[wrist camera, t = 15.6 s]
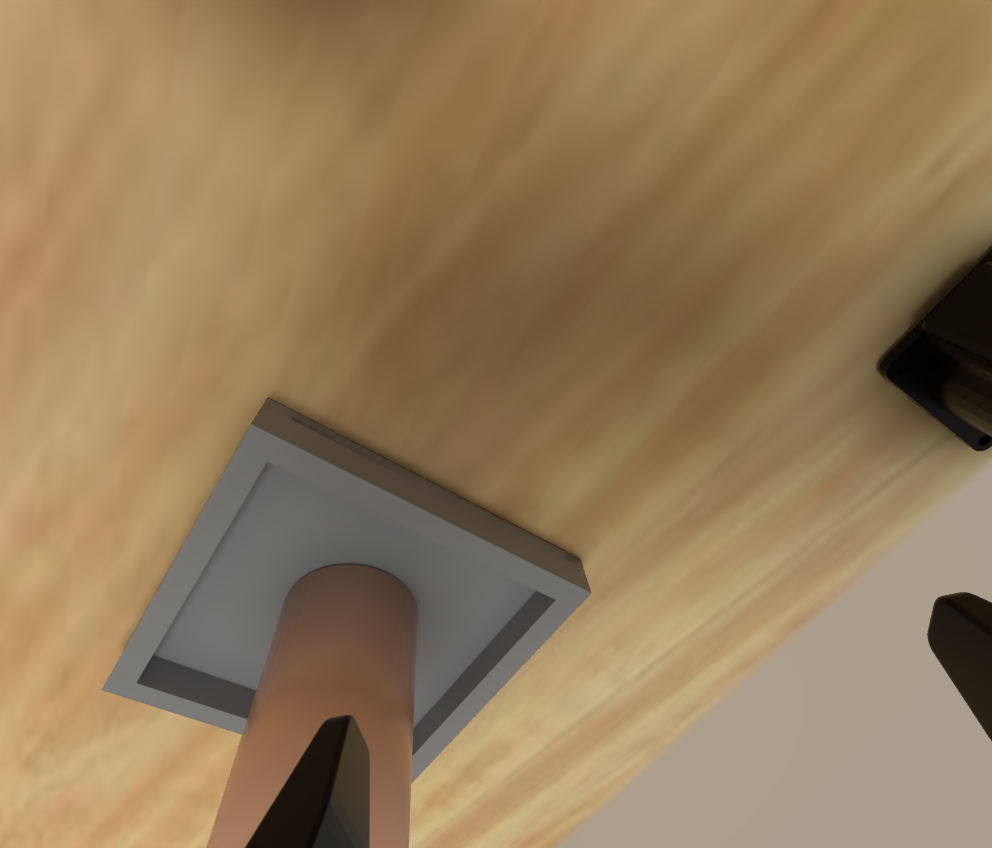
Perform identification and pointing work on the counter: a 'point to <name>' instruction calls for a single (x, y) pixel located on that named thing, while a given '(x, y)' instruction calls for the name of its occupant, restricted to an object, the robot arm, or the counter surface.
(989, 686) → the robot arm
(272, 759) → the peach rounded cylinder
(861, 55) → the counter surface
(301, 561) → the tray
